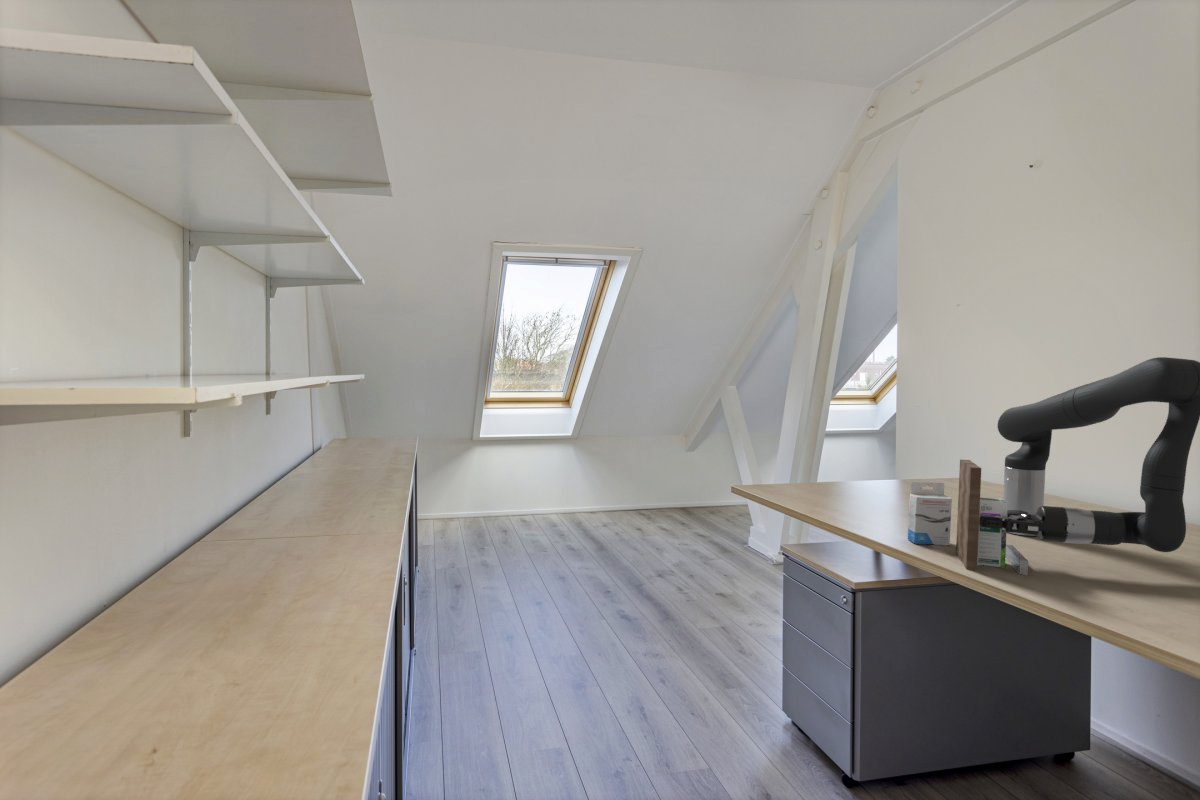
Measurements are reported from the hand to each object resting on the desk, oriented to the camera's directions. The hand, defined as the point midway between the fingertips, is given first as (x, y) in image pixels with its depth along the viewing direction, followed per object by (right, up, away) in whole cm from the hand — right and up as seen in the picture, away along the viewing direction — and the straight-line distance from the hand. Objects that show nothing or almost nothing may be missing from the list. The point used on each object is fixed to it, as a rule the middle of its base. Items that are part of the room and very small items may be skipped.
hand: (977, 518), depth 154 cm
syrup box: (+2, -10, 0) cm, 10 cm away
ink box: (-3, -9, +17) cm, 20 cm away
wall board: (+3, -10, 0) cm, 10 cm away
